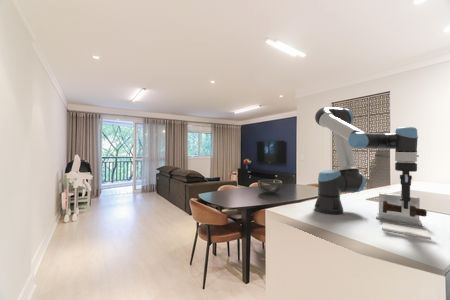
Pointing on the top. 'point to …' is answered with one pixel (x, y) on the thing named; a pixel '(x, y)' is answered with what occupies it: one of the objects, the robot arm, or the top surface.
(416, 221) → the block
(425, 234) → the mat
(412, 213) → the bolt
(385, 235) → the top surface
